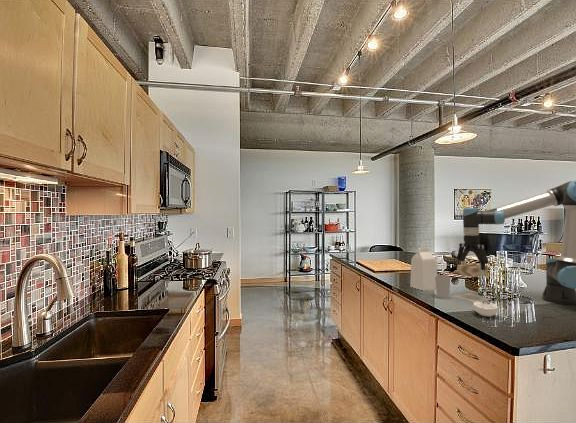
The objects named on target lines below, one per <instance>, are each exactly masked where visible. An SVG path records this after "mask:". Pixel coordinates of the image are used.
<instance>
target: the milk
mask: <svg viewBox="0 0 576 423" xmlns="http://www.w3.org/2000/svg"><path fill="white" fill-rule="evenodd" d="M410 260H411V261H410V262H411V264H410V285H409V287H410V288H412V287H413V288H412V289H415V288H416V290H418V289H419V291H421V290H423V291H422V292H426V291H425V290H429V291H435V290H436V281H435V276H436V275H438V266H437V265H438V264H437V259H436V258H435V256H434V255H433V254H432V253H431V251H430V248H429V247H427V246H426V247H419V248H418V251H417V252H416V253H415V254H414V255H413V256H412V257H411V259H410Z"/></svg>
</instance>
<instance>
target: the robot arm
mask: <svg viewBox="0 0 576 423" xmlns="http://www.w3.org/2000/svg"><path fill="white" fill-rule="evenodd" d="M561 205H562V207H563V208H564V209H565V216H564V226H563V233H562V242H561V249H560V250H561V251H560V256H558V257H557V258H548V257H547V259H546V262H545V267H546V268H545V271H546V273H545V274H546V276H545V278H546V283H545V284H546V285H545V287H544V290H543V292H542V300H544V301H547V302H550V303H553V304H554V303H555V304H559V305H568V306H569V305H570V306H575V305H576V179H575V180H572V181H571V180H570V181H567V182H565V183H562V184H560V185H557V186H555V187H553V188H550V189H547V191H546V192H544V193H540V194H537V195H534V196H531V197H527V198H524V199H520V200H518V201H517V200H516V201H514V202H511V203H508V204H505V205H504V204H503V205H502V206H501V205H500V206H498V207H495V208H492V209H488V210H479V207H465V208H464V207H463V210H462V224H463V226H462V227H463V234H464V235H463V242H462V243H461V242H460V243H459V248H458V252H457V255H456V260H459V265H462V264H466V260H465V259H466V258H467V255H468V254H469V253H470V252H472V253H474V255H475V256H476V258H477V260H478V262H479V263H478V265H479V277H485V276H484V270H485V266H486V264H489V259H488V256H487V253H486V249H485V248H486V247H485V244H480V243H479V242H480V227H479V226H480V225H504V224H505V222H506V221H505V219H509V218H513V217H517V216H520V215H523V214H527V213H529V212H530V213H531V212H534V211H537V210H540V209H543V208H549V207H551V206H554V207H558V206H561Z"/></svg>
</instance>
